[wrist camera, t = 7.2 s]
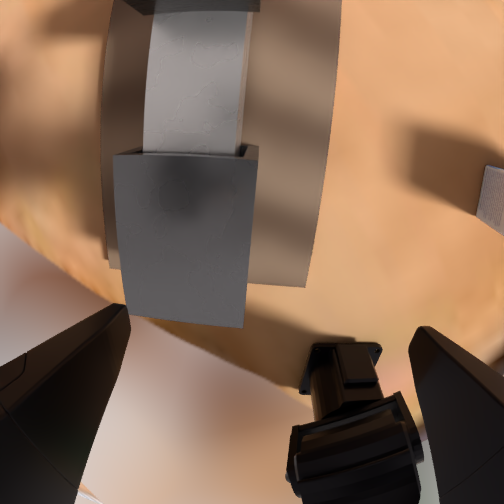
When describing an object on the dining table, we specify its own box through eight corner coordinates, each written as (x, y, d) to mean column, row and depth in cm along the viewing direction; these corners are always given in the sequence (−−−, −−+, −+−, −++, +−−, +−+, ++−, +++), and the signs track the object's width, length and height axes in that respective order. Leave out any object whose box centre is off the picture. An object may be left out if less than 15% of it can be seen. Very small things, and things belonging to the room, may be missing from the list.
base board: (303, 280, 21) (305, 287, 21) (115, 262, 21) (109, 268, 20) (338, -28, 12) (342, -34, 11) (127, -30, 12) (121, -35, 11)
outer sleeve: (247, 269, 20) (243, 328, 15) (159, 261, 20) (127, 314, 15) (259, 146, 17) (258, 160, 11) (157, 141, 17) (112, 155, 11)
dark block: (246, 182, 17) (229, 269, 8) (159, 176, 16) (59, 250, 7) (268, -42, 11) (272, -153, 2) (181, -41, 10) (118, -135, 1)
